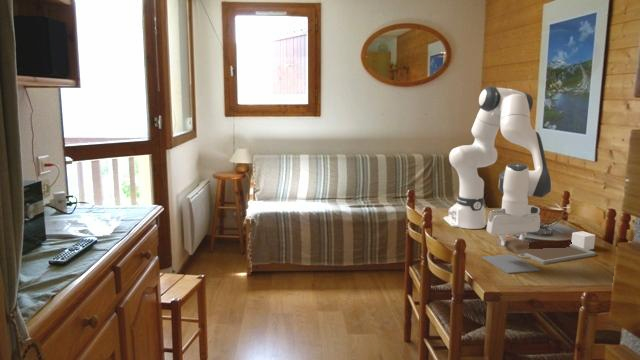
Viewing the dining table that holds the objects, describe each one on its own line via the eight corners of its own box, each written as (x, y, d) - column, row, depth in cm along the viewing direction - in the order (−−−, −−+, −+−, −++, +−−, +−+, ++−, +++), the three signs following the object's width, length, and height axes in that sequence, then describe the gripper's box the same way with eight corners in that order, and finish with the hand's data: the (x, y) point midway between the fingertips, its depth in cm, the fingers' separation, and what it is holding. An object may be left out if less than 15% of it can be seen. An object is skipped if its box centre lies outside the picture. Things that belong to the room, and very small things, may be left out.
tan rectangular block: (528, 252, 176) (528, 242, 175) (517, 254, 174) (517, 244, 174) (506, 244, 186) (507, 234, 185) (496, 245, 184) (496, 236, 184)
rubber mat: (481, 257, 188) (481, 256, 188) (511, 255, 191) (511, 254, 191) (507, 273, 172) (507, 272, 172) (539, 270, 175) (539, 269, 175)
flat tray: (596, 252, 191) (538, 262, 180) (596, 256, 191) (537, 266, 180) (557, 239, 209) (501, 247, 198) (556, 242, 209) (501, 250, 198)
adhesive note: (581, 244, 204) (582, 231, 203) (593, 249, 199) (595, 235, 198) (570, 246, 202) (572, 232, 201) (583, 250, 197) (584, 236, 196)
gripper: (494, 211, 172) (491, 249, 174) (544, 208, 177) (541, 244, 179) (484, 207, 178) (482, 243, 180) (532, 204, 183) (530, 239, 185)
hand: (512, 244), depth 180 cm, fingers closed on tan rectangular block, 5 cm apart
